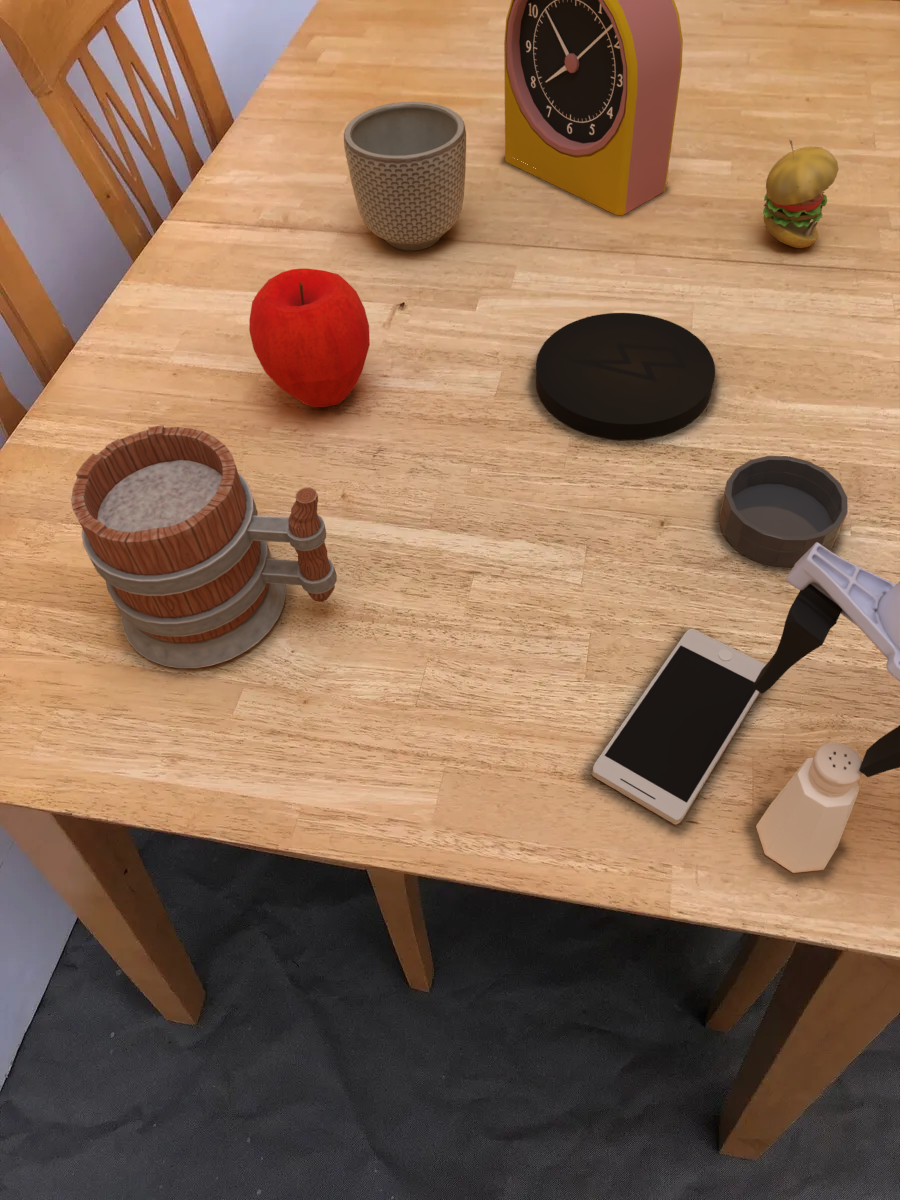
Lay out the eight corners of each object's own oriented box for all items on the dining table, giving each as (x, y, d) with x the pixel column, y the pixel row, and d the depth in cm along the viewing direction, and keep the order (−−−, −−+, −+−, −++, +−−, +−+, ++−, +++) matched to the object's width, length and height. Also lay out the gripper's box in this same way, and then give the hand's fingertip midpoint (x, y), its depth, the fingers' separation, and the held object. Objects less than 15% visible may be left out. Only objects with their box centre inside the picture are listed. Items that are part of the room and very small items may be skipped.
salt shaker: (751, 863, 63) (789, 789, 54) (759, 793, 66) (796, 712, 57) (834, 884, 62) (887, 812, 53) (838, 812, 65) (889, 732, 56)
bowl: (836, 492, 84) (847, 463, 81) (835, 576, 78) (847, 548, 75) (723, 476, 85) (730, 448, 83) (714, 557, 80) (721, 530, 77)
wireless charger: (508, 355, 98) (508, 339, 97) (657, 312, 102) (659, 296, 100) (582, 460, 88) (583, 445, 86) (746, 409, 91) (750, 393, 89)
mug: (154, 538, 84) (96, 411, 73) (360, 552, 82) (335, 422, 70) (99, 665, 76) (24, 544, 64) (327, 684, 74) (292, 561, 62)
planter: (487, 217, 116) (485, 110, 105) (440, 276, 108) (433, 167, 98) (389, 198, 120) (378, 93, 110) (337, 254, 112) (319, 147, 102)
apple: (244, 393, 97) (211, 280, 86) (335, 345, 101) (314, 231, 90) (308, 450, 91) (281, 335, 80) (401, 396, 95) (388, 281, 85)
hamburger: (824, 258, 106) (855, 154, 97) (761, 261, 106) (785, 158, 97) (808, 222, 111) (835, 120, 102) (747, 225, 111) (769, 124, 102)
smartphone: (771, 673, 72) (774, 666, 71) (678, 827, 64) (680, 821, 64) (687, 632, 75) (689, 625, 74) (589, 775, 67) (590, 769, 67)
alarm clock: (502, 160, 124) (500, -73, 104) (550, 136, 128) (557, -94, 107) (619, 216, 114) (643, -29, 93) (668, 188, 117) (701, -54, 97)
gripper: (848, 528, 44) (693, 682, 54) (1113, 725, 42) (901, 847, 52) (880, 469, 49) (733, 620, 59) (1119, 643, 47) (925, 769, 56)
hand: (814, 722), depth 55 cm, fingers open, 7 cm apart
